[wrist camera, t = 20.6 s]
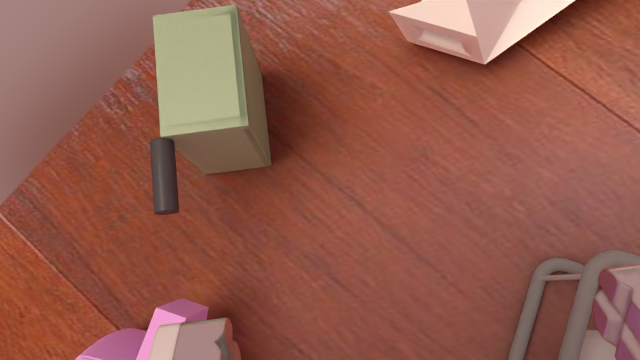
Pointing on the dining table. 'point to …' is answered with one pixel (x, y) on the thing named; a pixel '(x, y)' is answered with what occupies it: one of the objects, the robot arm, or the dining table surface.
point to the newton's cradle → (578, 343)
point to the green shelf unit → (206, 99)
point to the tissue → (473, 24)
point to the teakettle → (143, 333)
